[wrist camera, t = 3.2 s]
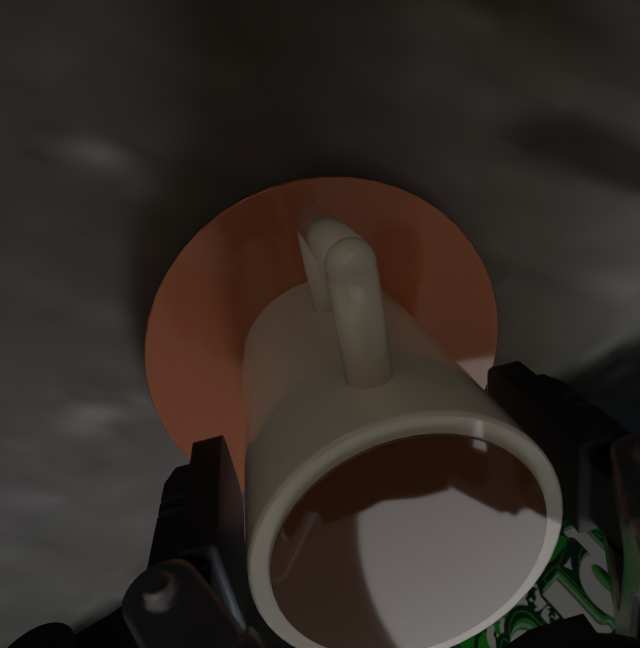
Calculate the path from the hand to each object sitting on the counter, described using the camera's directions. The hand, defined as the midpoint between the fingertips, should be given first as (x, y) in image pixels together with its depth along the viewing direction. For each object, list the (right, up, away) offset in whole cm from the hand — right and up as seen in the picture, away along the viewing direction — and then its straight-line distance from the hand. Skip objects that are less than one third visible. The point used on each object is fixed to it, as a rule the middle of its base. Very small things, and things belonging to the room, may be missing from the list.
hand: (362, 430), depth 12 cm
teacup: (-1, +2, +4) cm, 5 cm away
